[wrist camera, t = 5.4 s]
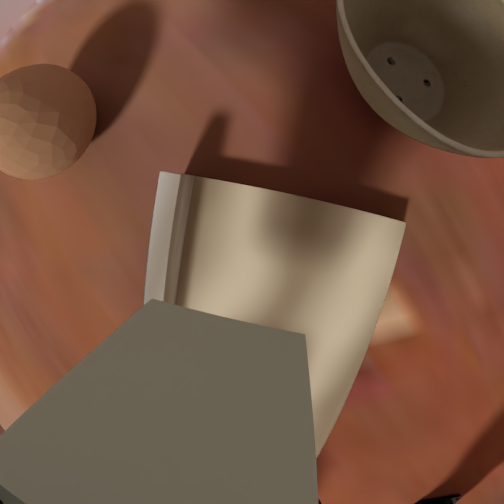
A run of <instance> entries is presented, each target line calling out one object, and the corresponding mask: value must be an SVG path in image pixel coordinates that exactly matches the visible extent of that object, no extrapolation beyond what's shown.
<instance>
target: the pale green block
mask: <svg viewBox="0 0 504 504" xmlns="http://www.w3.org/2000/svg"><path fill="white" fill-rule="evenodd" d="M0 500H1V501H2V502H3V504H319V502H318V482H317V464H316V449H315V435H314V422H313V410H312V398H311V387H310V376H309V366H308V356H307V347H306V338H305V334H301V333H296V332H291V331H286V330H281V329H276V328H271V327H267V326H262V325H257V324H253V323H248V322H244V321H239V320H235V319H231V318H226V317H222V316H218V315H214V314H210V313H206V312H202V311H198V310H194V309H190V308H186V307H182V306H178V305H175V304H171V303H167V302H163V301H160V300H156V299H153V298H152V299H151V300H150V301H149V302H147V303H146V304H145V305H144V306H143V307H142V308H140V309H139V310H138V311H137V312H136V313H135V314H134V315H132V316H131V317H130V318H129V319H128V320H127V321H125V322H124V323H123V324H122V325H121V326H120V327H119V328H117V329H116V330H115V331H114V332H113V333H112V334H111V335H109V336H108V337H107V338H106V339H105V340H104V341H103V342H102V343H100V344H99V345H98V346H97V347H96V348H95V349H94V350H93V351H91V352H90V353H89V354H88V355H87V356H86V357H85V358H84V359H82V360H81V361H80V362H79V363H78V364H77V365H76V366H75V367H74V368H72V369H71V370H70V371H69V372H68V373H67V374H66V375H65V376H64V377H63V378H61V379H60V380H59V381H58V382H57V383H56V384H55V385H54V386H53V387H52V388H51V389H49V390H48V391H47V392H46V393H45V394H44V395H43V396H42V397H41V398H40V399H39V400H38V401H36V402H35V403H34V404H33V405H32V406H31V407H30V408H29V409H28V410H27V411H26V412H25V413H24V414H23V415H22V416H21V417H19V418H18V419H17V420H16V421H15V422H14V423H13V424H12V425H11V426H10V427H9V428H8V429H7V430H6V431H5V432H4V433H3V434H2V435H1V436H0Z"/></svg>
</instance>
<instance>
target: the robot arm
mask: <svg viewBox="0 0 504 504" xmlns="http://www.w3.org/2000/svg"><path fill="white" fill-rule="evenodd" d="M460 498H461V495H460V494H458V495H453V496H448V497H443V498H437V499H431V500H425V501H420V502H418V503H417V504H455V503H456V502H457V501H458V500H459V499H460ZM318 502H319V504H322V503H321V502H320V500H319V498H318ZM0 504H3V502H2V501H1V500H0Z"/></svg>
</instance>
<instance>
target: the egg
mask: <svg viewBox="0 0 504 504" xmlns="http://www.w3.org/2000/svg"><path fill="white" fill-rule="evenodd" d="M95 127H96V104H95V101H94V98H93V95H92V93H91V91H90V89H89V87H88V85H87V84H86V83H85V82H84V81H83V80H82V79H81V78H80V77H79V76H78V75H77V74H75V73H73V72H72V71H70V70H68V69H66V68H63V67H60V66H57V65H51V64H36V65H31V66H27V67H22V68H19V69H17V70H14V71H12V72H10V73H8V74H6V75H4V76H3V77H1V78H0V170H1V171H3V172H4V173H6V174H8V175H11V176H13V177H18V178H22V179H35V180H37V179H42V178H48V177H52V176H55V175H57V174H59V173H61V172H62V171H64V170H66V169H68V168H69V167H70V166H72V165H73V164H74V163H75V162H76V161H77V160H78V159H79V158H80V157H81V156H82V154H83V153H84V152H85V150H86V149H87V147H88V146H89V144H90V142H91V139H92V137H93V135H94V131H95Z"/></svg>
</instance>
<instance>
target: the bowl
mask: <svg viewBox="0 0 504 504" xmlns="http://www.w3.org/2000/svg"><path fill="white" fill-rule="evenodd" d="M336 12H337V26H338V34H339V40H340V44H341V49H342V53H343V56H344V60H345V63H346V66H347V68H348V71H349V73H350V75H351V77H352V80H353V82H354V83H355V85H356V87H357V89H358V90H359V92H360V94H361V95H362V97H363V98H364V99H365V101H366V102H367V103H368V104H369V106H370V107H371V108H372V109H373V110H374V111H375V112H376V113H377V114H378V115H379V116H380V117H381V118H382V119H383V120H385V121H386V122H387V123H388V124H390V125H391V126H392V127H394V128H395V129H397V130H398V131H400V132H402V133H403V134H405V135H407V136H409V137H410V138H413V139H415V140H417V141H419V142H421V143H424V144H426V145H429V146H431V147H434V148H437V149H440V150H444V151H447V152H451V153H455V154H460V155H466V156H472V157H480V158H503V157H504V0H336ZM388 61H389V62H390V63H391V64H389V62H388ZM424 80H427V81H428V83H425V82H424ZM399 99H402V101H401V102H400V101H399Z"/></svg>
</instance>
